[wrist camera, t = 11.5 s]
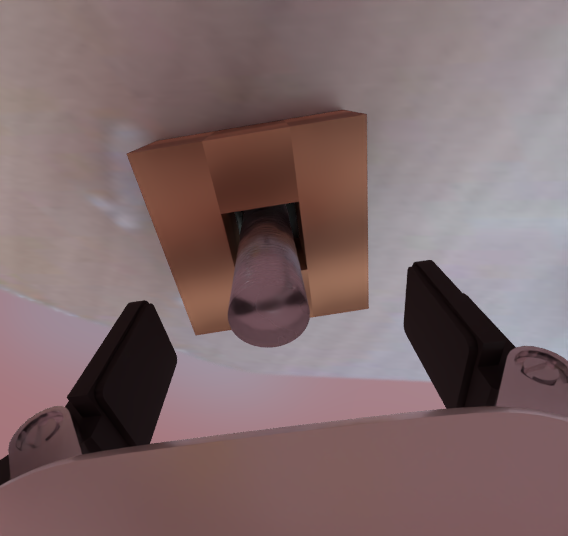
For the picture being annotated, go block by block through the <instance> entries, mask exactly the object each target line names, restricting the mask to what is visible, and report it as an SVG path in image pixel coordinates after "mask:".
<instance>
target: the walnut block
mask: <svg viewBox="0 0 568 536" xmlns="http://www.w3.org/2000/svg"><path fill="white" fill-rule="evenodd" d="M127 156H128V159H129V161H130V164H131V167H132V169H133V172H134V175H135V177H136V180H137V182H138V185H139V188H140V190H141V193H142V196H143V198H144V201H145V203H146V206H147V209H148V211H149V214H150V217H151V219H152V222H153V224H154V227H155V230H156V232H157V235H158V238H159V240H160V243H161V245H162V248H163V251H164V253H165V256H166V259H167V261H168V264H169V266H170V269H171V272H172V274H173V277H174V280H175V282H176V285H177V287H178V290H179V293H180V295H181V298H182V301H183V303H184V306H185V309H186V311H187V314H188V316H189V319H190V322H191V324H192V327H193V330H194V332H195V335H201V334H207V333H214V332H220V331H227V330H232V329H231V327H230V325H229V322H228V308H229V301H230V295H231V289H232V283H233V276H234V270H235V264H236V258H237V251H238V245H239V239H240V234H239V229H238V225H237V221H236V217H235V213H234V212H236V211H243V210H249V209H255V208H261V207H267V206H274V205H280V204H286V203H292V202H295V210H296V217H297V225H298V233H299V237H298V238H294V242H295V246H296V251H297V255H298V260H299V264H300V269H301V273H302V278H303V282H304V287H305V291H306V296H307V300H308V305H309V309H310V318H311V317H317V316H324V315H330V314H336V313H343V312H349V311H356V310H362V309H369V304H368V206H367V114H363V113H358V112H352V111H346V110H340V111H334V112H328V113H322V114H316V115H310V116H304V117H298V118H292V119H286V120H280V121H274V122H268V123H262V124H255V125H249V126H243V127H237V128H231V129H225V130H219V131H213V132H207V133H201V134H195V135H189V136H183V137H177V138H171V139H165V140H159V141H155V142H153V143H151V144H148V145H146V146H144V147H141V148H139V149H137V150H134V151H132V152H130V153H127Z"/></svg>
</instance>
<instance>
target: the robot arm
mask: <svg viewBox="0 0 568 536" xmlns="http://www.w3.org/2000/svg"><path fill="white" fill-rule="evenodd" d="M404 330H405V333H406V335H407V337H408V339H409V341H410V342H411V344H412V346H413V348H414V350H415V352H416V353H417V355H418V357H419V359H420V361H421V363H422V364H423V366H424V368H425V370H426V372H427V374H428V375H429V377H430V379H431V381H432V383H433V385H434V386H435V388H436V390H437V392H438V394H439V396H440V397H441V399H442V401H443V403H444V405H445V407H446V409H439V410H430V411H420V412H409V413H400V414H391V415H383V416H376V417H375V416H374V417H366V418H357V419H348V420H340V421H331V422H323V423H314V424H306V425H298V426H290V427H282V428H273V429H265V430H257V431H249V432H240V433H233V434H224V435H216V436H209V437H201V438H193V439H185V440H177V441H170V442H162V443H154V444H150V441H151V439H152V436H153V433H154V430H155V426H156V424H157V420H158V418H159V415H160V412H161V409H162V406H163V402H164V400H165V397H166V394H167V391H168V388H169V385H170V382H171V379H172V376H173V373H174V370H175V367H176V364H177V355H176V353H175V351H174V348H173V346H172V344H171V342H170V340H169V338H168V335H167V333H166V331H165V329H164V327H163V324H162V322H161V320H160V318H159V316H158V314H157V311H156V309H155V307H154V305H153V304H149V303H148V302H147V301H145V300H144V301H137V302H130V303H128V304H127V306H126V307H125V309H124V310H123V312H122V314H121V315H120V317H119V318H118V320H117V321H116V323H115V324H114V326H113V327H112V329H111V330H110V332H109V334H108V335H107V337H106V338H105V340H104V341H103V343H102V344H101V346H100V347H99V349H98V350H97V352H96V354H95V355H94V357H93V358H92V360H91V361H90V363H89V364H88V366H87V367H86V369H85V370H84V372H83V374H82V375H81V376H80V378H79V380H78V381H77V383H76V384H75V386H74V387H73V389H72V390H71V392H70V393H69V395H68V396H67V398H68V400H69V402H68V403H67V405H66V406H65V407H63V406H54V407H51V408H47V409H45V410H43V411H41V412H39V413H37V414H36V415H34V416H33V417H31V418H30V419H28V420H27V421H26V422H25V423H24V424H23V425H22V426H21V427H20V428H19V429H18V430H17V431H16V433H15V434H14V435H13V437H12V439H11V441H10V443H9V449H8V451H9V455H7V456H6V457H4V458H3V459H1V460H0V536H568V361H567V360H566V359H565V358H563V357H561V356H559V355H558V354H556V353H554V352H551V351H549V350H546V349H543V348H539V347H534V346H521V347H515V346H514V345H513V344H512V343H511V342H510V341H509V340H508V339H507V338H506V336H505V335H504V334H503V333H502V332H501V331H500V330H499V329H498V328H497V327H496V326H495V325H494V324H493V323H492V321H491V320H490V319H489V318H488V317H487V316H486V315H485V314H484V313H483V312H482V311H481V310H480V309H479V308H478V307H477V305H476V304H475V303H474V302H473V301H472V300H471V299H470V298H469V297H468V296H467V295H466V294H464V293H462V292H461V291H460V290H459V289H458V288H457V287H456V286H455V285H454V283H453V282H452V281H451V280H450V279H449V278H448V277H447V276H446V275H445V274H444V273H443V272H442V270H441V269H440V268H439V267H438V266H437V265H436V264H435V263H434V262H433V261H432V260H426V261H419V262H414V263H413V265H412V267H409V268H408V272H407V286H406V299H405V312H404Z"/></svg>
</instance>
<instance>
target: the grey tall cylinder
mask: <svg viewBox="0 0 568 536" xmlns="http://www.w3.org/2000/svg"><path fill="white" fill-rule="evenodd" d="M309 318H310V309H309V305H308V300H307V296H306V291H305V287H304V282H303V278H302V273H301V269H300V264H299V260H298V255H297V251H296V246H295V242H294V237H293V233H292V228H291V224H290V219H289V215H288V210H287V207H286V204H280V205H274V206H267V207H261V208H255V209H249V210H244V214H243V220H242V226H241V233H240V239H239V245H238V251H237V258H236V264H235V270H234V276H233V283H232V289H231V295H230V301H229V308H228V322H229V325H230V327H231V329H232V331H233V332H234V333H235V335H236V336H238V337H239V338H240V339H241V340H243V341H244V342H246V343H249V344H251V345H254V346H258V347H277V346H282V345H285V344H287V343H290V342H291V341H293V340H295V339H296V338H298V337H299V336H300V335H301V334H302V333H303V331H304V330H305V329H306V327H307V325H308V322H309Z"/></svg>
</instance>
